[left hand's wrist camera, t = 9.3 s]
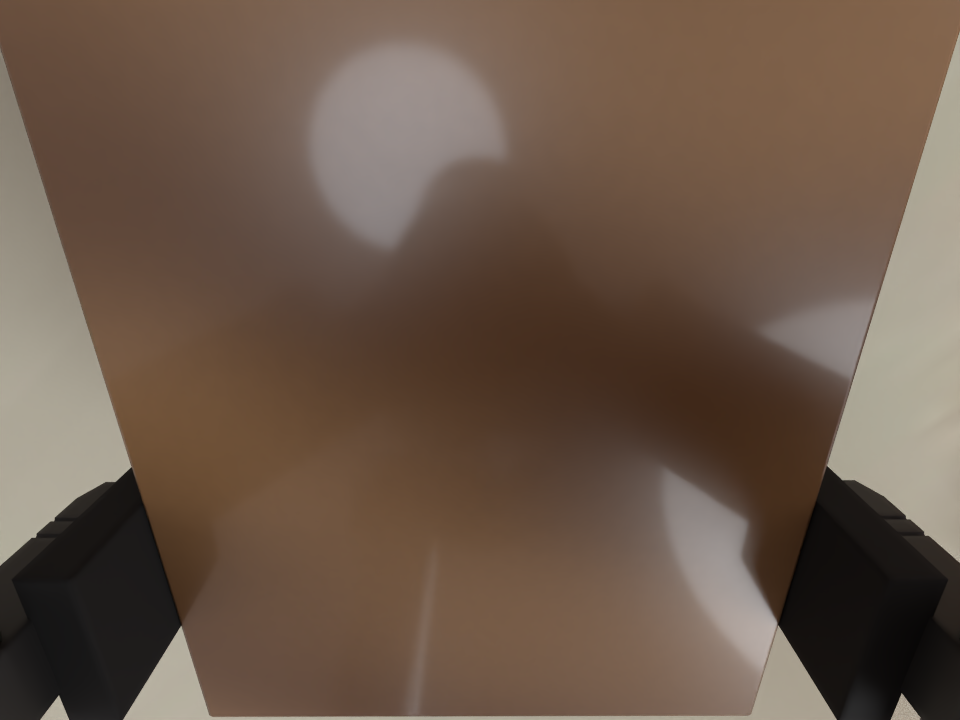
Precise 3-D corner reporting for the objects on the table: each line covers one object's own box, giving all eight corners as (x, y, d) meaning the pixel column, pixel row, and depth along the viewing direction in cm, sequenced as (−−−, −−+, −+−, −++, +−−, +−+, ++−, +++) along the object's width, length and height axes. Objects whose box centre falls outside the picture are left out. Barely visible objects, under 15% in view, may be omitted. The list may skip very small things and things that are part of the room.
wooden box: (212, -279, 11) (-387, -1171, 3) (743, -281, 11) (1336, -1181, 3) (320, 471, 18) (208, 719, 11) (638, 470, 18) (752, 717, 10)
